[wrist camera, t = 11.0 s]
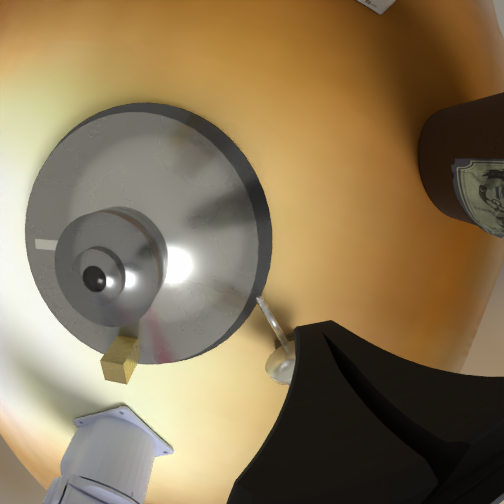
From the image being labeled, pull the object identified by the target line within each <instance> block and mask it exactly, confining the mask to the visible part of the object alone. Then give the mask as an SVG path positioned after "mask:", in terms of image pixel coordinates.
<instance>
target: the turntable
mask: <svg viewBox="0 0 504 504" xmlns="http://www.w3.org/2000/svg"><path fill="white" fill-rule="evenodd" d="M114 206H122V207H128V208H132V209H135V210H137V211H139V212H141V213H142V214H144V215H146V216H147V217H148V218H149V219H150V220H151V221H152V222H153V223H154V224H155V225H156V226H157V227H158V229H159V230H160V232H161V234H162V235H163V238H164V240H165V242H166V246H167V249H168V255H169V268H168V273H167V277H166V280H165V282H164V284H163V286H162V287H161V289H160V291H159V293H158V294H157V296H156V298H155V300H154V301H153V303H152V305H151V307H150V308H149V310H148V311H147V312H146V314H145V315H144V316H143V317H142V318H140V319H139V320H138V321H136V322H134V323H132V324H130V325H127V326H122V327H106V326H102V325H99V324H96V323H93V322H91V321H89V320H88V319H86V318H85V317H83V316H82V315H80V314H79V313H78V312H77V311H76V310H75V309H74V308H73V307H72V306H71V305H70V304H69V302H68V301H67V299H66V298H65V296H64V295H63V293H62V291H61V289H60V286H59V284H58V281H57V277H56V273H55V264H54V258H55V250H56V246H57V242H58V240H59V238H60V235H61V234H62V232H63V231H64V229H65V228H66V227H67V226H68V225H69V224H70V223H71V222H72V221H73V220H75V219H77V218H78V217H80V216H83V215H86V214H89V213H92V212H95V211H99V210H102V209H105V208H109V207H114ZM25 240H26V249H27V256H28V261H29V265H30V269H31V272H32V275H33V278H34V281H35V283H36V286H37V288H38V290H39V292H40V294H41V296H42V298H43V300H44V301H45V303H46V304H47V306H48V308H49V309H50V311H51V312H52V313H53V314H54V316H55V317H56V318H57V319H58V321H59V322H60V323H61V324H62V325H63V326H64V327H65V328H66V329H67V330H68V331H69V332H70V333H71V334H72V335H74V336H75V337H76V338H77V339H79V340H80V341H81V342H83V343H84V344H86V345H87V346H89V347H90V348H92V349H94V350H96V351H98V352H100V353H102V354H104V356H103V357H102V359H101V360H100V361H101V366H102V370H103V374H104V378H105V380H108V381H113V382H118V383H123V384H128V382H129V379H130V377H131V375H132V373H133V371H134V369H135V367H136V365H137V364H163V363H170V362H175V361H178V360H182V359H185V358H188V357H190V356H192V355H195V354H197V353H199V352H201V351H203V350H204V349H206V348H207V347H209V346H210V345H212V344H213V343H214V342H216V341H217V340H218V339H219V338H220V337H222V336H223V335H224V334H225V333H226V332H227V330H228V329H229V328H230V327H231V326H232V325H233V324H234V322H235V321H236V319H237V318H238V316H239V315H240V313H241V312H242V310H243V308H244V306H245V304H246V302H247V300H248V298H249V295H250V293H251V290H252V286H253V283H254V280H255V275H256V269H257V263H258V234H257V225H256V220H255V216H254V212H253V208H252V204H251V201H250V199H249V196H248V194H247V191H246V189H245V186H244V184H243V183H242V181H241V179H240V177H239V176H238V174H237V172H236V170H235V169H234V167H233V166H232V165H231V163H230V162H229V161H228V159H227V158H226V157H225V156H224V154H223V153H222V152H221V151H220V150H219V149H218V148H217V147H216V146H215V145H214V144H213V143H212V142H211V141H210V140H208V139H207V138H206V137H204V136H203V135H202V134H200V133H199V132H197V131H196V130H195V129H193V128H191V127H189V126H187V125H185V124H183V123H181V122H179V121H177V120H174V119H171V118H168V117H165V116H162V115H157V114H151V113H145V112H126V113H119V114H112V115H109V116H105V117H102V118H99V119H96V120H94V121H92V122H90V123H88V124H86V125H84V126H82V127H80V128H79V129H77V130H76V131H75V132H73V133H72V134H70V135H69V136H68V137H67V138H66V139H65V140H63V141H62V142H61V143H60V144H59V145H58V146H57V147H56V149H55V150H54V151H53V152H52V153H51V155H50V156H49V157H48V159H47V160H46V162H45V163H44V165H43V167H42V168H41V170H40V172H39V174H38V176H37V178H36V180H35V183H34V185H33V188H32V191H31V194H30V197H29V202H28V207H27V212H26V223H25Z"/></svg>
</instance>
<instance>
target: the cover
mask: <svg viewBox="0 0 504 504" xmlns="http://www.w3.org/2000/svg"><path fill="white" fill-rule="evenodd" d="M54 264H55V273H56V277H57V281H58V284H59V286H60V289H61V291H62V293H63V295H64V296H65V298H66V299H67V301H68V302H69V304H70V305H71V306H72V307H73V308H74V309H75V310H76V311H77V312H78V313H79V314H80V315H82V316H83V317H85V318H86V319H88V320H89V321H91V322H93V323H96V324H99V325H102V326H106V327H122V326H127V325H130V324H132V323H134V322H136V321H138V320H139V319H140V318H142V317H143V316H144V315H145V314H146V312H147V311H148V310H149V308H150V307H151V305H152V303H153V301H154V300H155V298H156V296H157V294H158V293H159V291H160V289H161V287H162V286H163V284H164V282H165V280H166V277H167V273H168V268H169V255H168V249H167V246H166V242H165V240H164V238H163V235H162V234H161V232H160V230H159V229H158V227H157V226H156V225H155V224H154V223H153V222H152V221H151V220H150V219H149V218H148V217H147V216H146V215H144V214H142V213H141V212H139V211H137V210H135V209H132V208H128V207H122V206H114V207H109V208H105V209H102V210H99V211H95V212H92V213H89V214H86V215H83V216H80V217H78V218H77V219H75V220H73V221H72V222H71V223H70V224H69V225H68V226H67V227H66V228H65V229H64V231H63V232H62V234H61V235H60V238H59V240H58V242H57V246H56V250H55V258H54Z"/></svg>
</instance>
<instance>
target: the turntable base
mask: <svg viewBox="0 0 504 504" xmlns="http://www.w3.org/2000/svg"><path fill="white" fill-rule="evenodd" d="M126 112H145V113H151V114H157V115H162V116H165V117H168V118H171V119H174V120H177V121H179V122H181V123H183V124H185V125H187V126H189V127H191V128H193V129H195V130H196V131H197V132H199V133H200V134H202V135H203V136H204V137H206V138H207V139H208V140H210V141H211V142H212V143H213V144H214V145H215V146H216V147H217V148H218V149H219V150H220V151H221V152H222V153H223V154H224V156H225V157H226V158H227V159H228V161H229V162H230V163H231V165H232V166H233V167H234V169H235V170H236V172H237V174H238V176H239V177H240V179H241V181H242V183H243V184H244V186H245V189H246V191H247V194H248V196H249V199H250V201H251V204H252V208H253V212H254V216H255V220H256V225H257V234H258V263H257V269H256V275H255V280H254V283H253V286H252V290H251V293H250V295H249V298H248V300H247V302H246V304H245V306H244V308H243V310H242V312H241V313H240V315H239V316H238V318H237V319H236V321H235V322H234V324H233V325H232V326H231V327H230V328H229V329H228V330H227V332H226V333H225V334H224V335H223V336H222V337H220V338H219V339H218V340H217V341H216V342H214V343H213V344H212V345H210V346H209V347H207V348H206V349H204V350H203V351H201V352H199V353H197V354H195V355H192V356H190V357H188V358H185V359H182V360H187V359H190V358H193V357H196V356H199V355H202V354H203V353H205V352H207V351H209V350H211V349H213V348H215V347H217V346H218V345H219V344H221V343H222V342H224V341H225V340H227V339H228V338H229V337H230V336H231V335H232V334H233V333H234V332H235V331H237V330H238V329H239V328H240V326H241V325H242V324H243V323H244V322H245V320H246V319H247V318H248V317H249V315H250V314H251V312H252V310H253V309H254V307H255V305H256V304H257V301H256V297H257V296H259V295H261V293H262V291H263V289H264V286H265V284H266V280H267V276H268V272H269V269H270V263H271V255H272V225H271V219H270V212H269V207H268V204H267V201H266V197H265V194H264V190H263V188H262V186H261V184H260V182H259V179H258V177H257V175H256V173H255V171H254V169H253V168H252V166H251V165H250V163H249V161H248V160H247V158H246V157H245V155H244V154H243V153H242V152H241V150H240V149H239V148H238V147H237V146H236V145H235V143H234V142H233V141H232V140H231V139H230V138H229V137H228V136H226V135H225V134H224V133H223V132H222V131H221V130H220V129H218V128H217V127H216V126H214V125H213V124H211V123H210V122H208V121H207V120H205V119H203V118H202V117H200V116H198V115H196V114H193V113H191V112H189V111H187V110H184V109H181V108H177V107H174V106H170V105H165V104H157V103H131V104H126V105H121V106H116V107H113V108H110V109H107V110H105V111H102V112H99V113H97V114H95V115H94V116H92V117H90V118H88V119H86V120H85V121H83V122H82V123H80V124H79V125H78V126H76V127H75V128H74V129H72V130H71V131H70V132H69V133H68V134H67V135H66V136H65V137H64V138H63V139H62V140H61V141H60V142H59V143H58V145H59V144H60V143H61V142H62V141H63V140H65V139H66V138H67V137H68V136H69V135H70V134H72V133H73V132H75V131H76V130H77V129H79V128H80V127H82V126H84V125H86V124H88V123H90V122H92V121H94V120H96V119H99V118H102V117H105V116H109V115H112V114H119V113H126ZM58 145H57V146H58ZM57 146H56V147H57ZM56 147H55V149H56ZM55 149H54V150H55ZM54 150H53V151H54ZM53 151H52V152H53ZM52 152H51V153H52ZM50 155H51V154H50ZM50 155H49V156H50ZM182 360H178V361H182ZM178 361H175V362H178ZM170 363H172V362H170Z"/></svg>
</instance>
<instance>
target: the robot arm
mask: <svg viewBox="0 0 504 504" xmlns="http://www.w3.org/2000/svg"><path fill="white" fill-rule="evenodd" d="M293 332H294V344H295V357H296V360H295V366H294V371H293V375H292V380H291V384H290V387H289V390H288V393H287V396H286V399H285V402H284V404H283V406H282V409H281V411H280V413H279V416H278V418H277V420H276V422H275V424H274V426H273V428H272V430H271V431H270V433H269V435H268V436H267V438H266V440H265V441H264V443H263V445H262V446H261V448H260V449H259V451H258V452H257V454H256V455H255V457H254V458H253V459H252V461H251V462H250V463H249V464H248V466H247V467H246V468H245V469H244V471H243V472H242V473H241V474H240V476H239V477H238V478H237V479H236V480H235V482H234V485H233V488H232V490H231V493H230V495H229V498H228V501H227V504H499V503H501V502H502V501H503V500H504V377H484V376H473V375H464V374H458V373H452V372H447V371H443V370H439V369H434V368H431V367H427V366H424V365H420V364H418V363H415V362H412V361H409V360H406V359H403V358H401V357H399V356H396V355H394V354H392V353H390V352H387V351H385V350H383V349H381V348H379V347H377V346H375V345H373V344H371V343H370V342H368V341H366V340H364V339H362V338H361V337H359V336H357V335H356V334H354V333H352V332H351V331H349V330H347V329H346V328H344V327H342V326H341V325H339V324H337V323H336V322H334V321H332V320H329V321H324V322H319V323H314V324H309V325H303V326H297V327H296V328H295V329H294V330H293ZM73 423H74V424H75V425H76V426H77V427H78V428H77V430H76V432H75V434H74V436H73V438H72V440H71V442H70V444H69V446H68V448H67V450H66V452H65V454H64V456H63V458H62V460H61V465H60V469H61V475H62V476H60V477H54V479H53V481H52V483H51V485H50V487H49V489H48V492H47V494H46V496H45V498H44V500H43V503H42V504H144V502H145V497H146V492H147V488H148V483H149V479H150V475H151V470H152V466H153V462H154V457H157V456H163V455H168V454H173V453H174V449H173V448H172V447H170V446H169V445H168V444H167V443H166V442H164V441H163V440H162V439H161V438H160V437H159V436H158V435H156V434H155V433H154V432H153V431H152V430H151V429H150V428H149V427H148V426H147V425H146V424H145V423H143V422H142V421H141V420H140V419H139V418H138V417H137V416H136V415H135V414H134V413H133V412H132V411H131V410H130V409H129V408H128V407H126V406H122V407H119V408H115V409H111V410H108V411H104V412H100V413H96V414H93V415H89V416H84V417H80V418H76V419H74V420H73Z"/></svg>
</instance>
